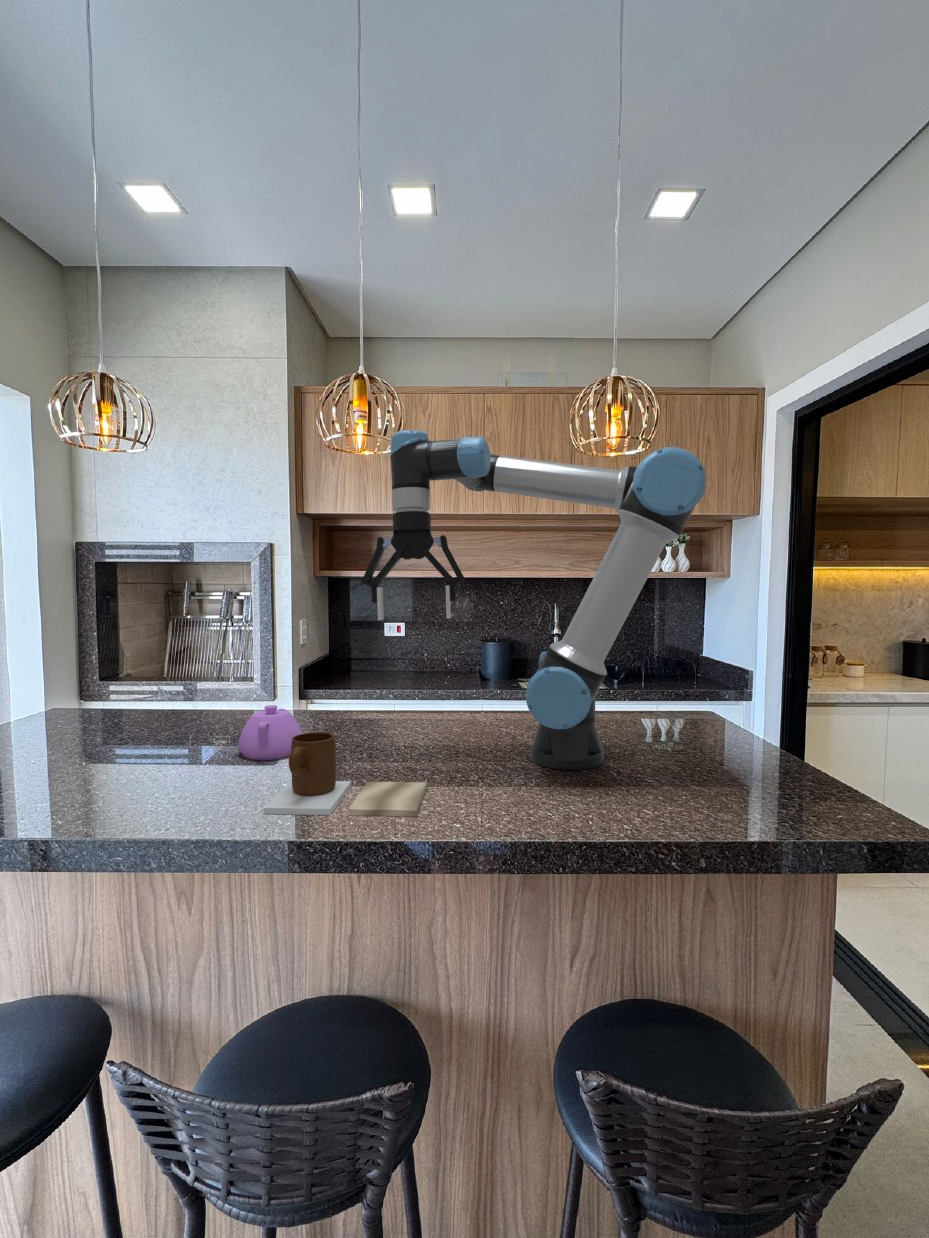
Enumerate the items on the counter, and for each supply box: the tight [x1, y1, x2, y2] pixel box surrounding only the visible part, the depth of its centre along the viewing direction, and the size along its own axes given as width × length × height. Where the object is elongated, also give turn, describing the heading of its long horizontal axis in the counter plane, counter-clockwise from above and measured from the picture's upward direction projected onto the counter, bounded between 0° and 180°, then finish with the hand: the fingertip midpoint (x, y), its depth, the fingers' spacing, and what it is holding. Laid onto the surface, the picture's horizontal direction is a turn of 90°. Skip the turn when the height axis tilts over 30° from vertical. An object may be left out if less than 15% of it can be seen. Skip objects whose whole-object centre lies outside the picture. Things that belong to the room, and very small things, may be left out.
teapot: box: [238, 704, 303, 761], centre depth 136 cm, size 14×20×11 cm
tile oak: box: [347, 781, 428, 817], centre depth 105 cm, size 11×14×1 cm
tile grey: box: [262, 780, 352, 816], centre depth 106 cm, size 11×14×1 cm
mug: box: [288, 731, 337, 796], centre depth 105 cm, size 12×8×9 cm, turn 169°
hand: (414, 619), depth 122 cm, fingers open, 13 cm apart
